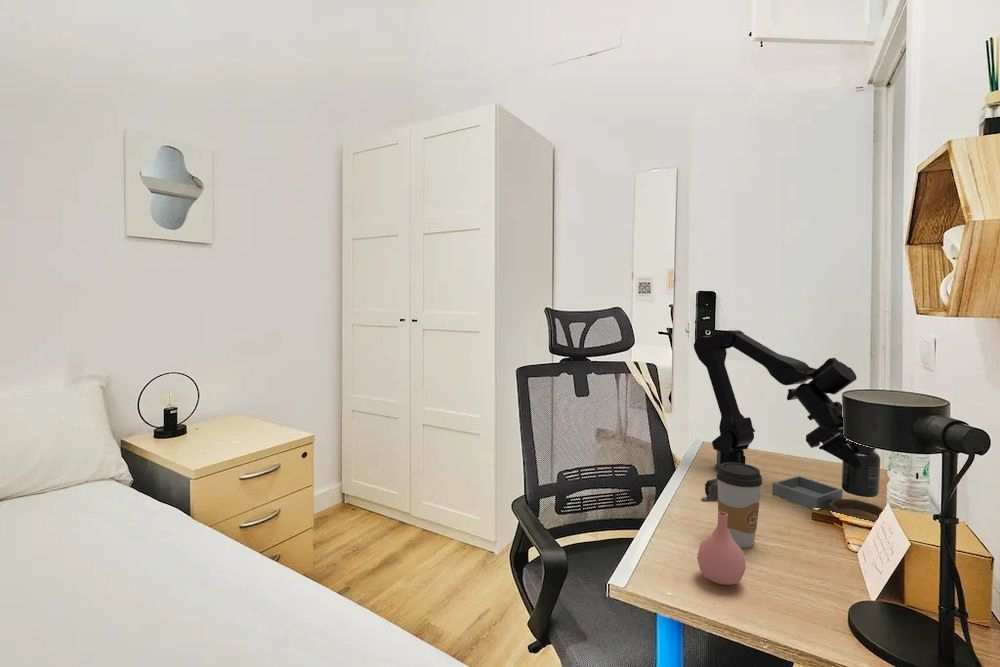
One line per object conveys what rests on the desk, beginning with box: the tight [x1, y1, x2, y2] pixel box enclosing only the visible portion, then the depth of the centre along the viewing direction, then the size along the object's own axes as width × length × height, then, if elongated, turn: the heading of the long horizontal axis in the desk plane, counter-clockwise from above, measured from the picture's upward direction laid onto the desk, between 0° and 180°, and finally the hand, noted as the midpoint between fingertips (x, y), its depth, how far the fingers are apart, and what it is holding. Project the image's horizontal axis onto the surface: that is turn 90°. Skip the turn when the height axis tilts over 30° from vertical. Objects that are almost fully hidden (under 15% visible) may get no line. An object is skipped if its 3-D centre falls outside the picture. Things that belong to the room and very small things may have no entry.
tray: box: [771, 475, 844, 510], centre depth 121 cm, size 11×11×3 cm
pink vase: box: [696, 511, 747, 586], centre depth 85 cm, size 8×8×12 cm
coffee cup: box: [715, 462, 763, 549], centre depth 99 cm, size 8×8×15 cm
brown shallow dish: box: [827, 498, 884, 522], centre depth 111 cm, size 11×11×2 cm
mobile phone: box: [701, 477, 718, 501], centre depth 121 cm, size 5×3×15 cm
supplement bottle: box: [841, 441, 881, 498], centre depth 110 cm, size 7×7×12 cm
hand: (868, 465), depth 109 cm, fingers closed on supplement bottle, 7 cm apart
